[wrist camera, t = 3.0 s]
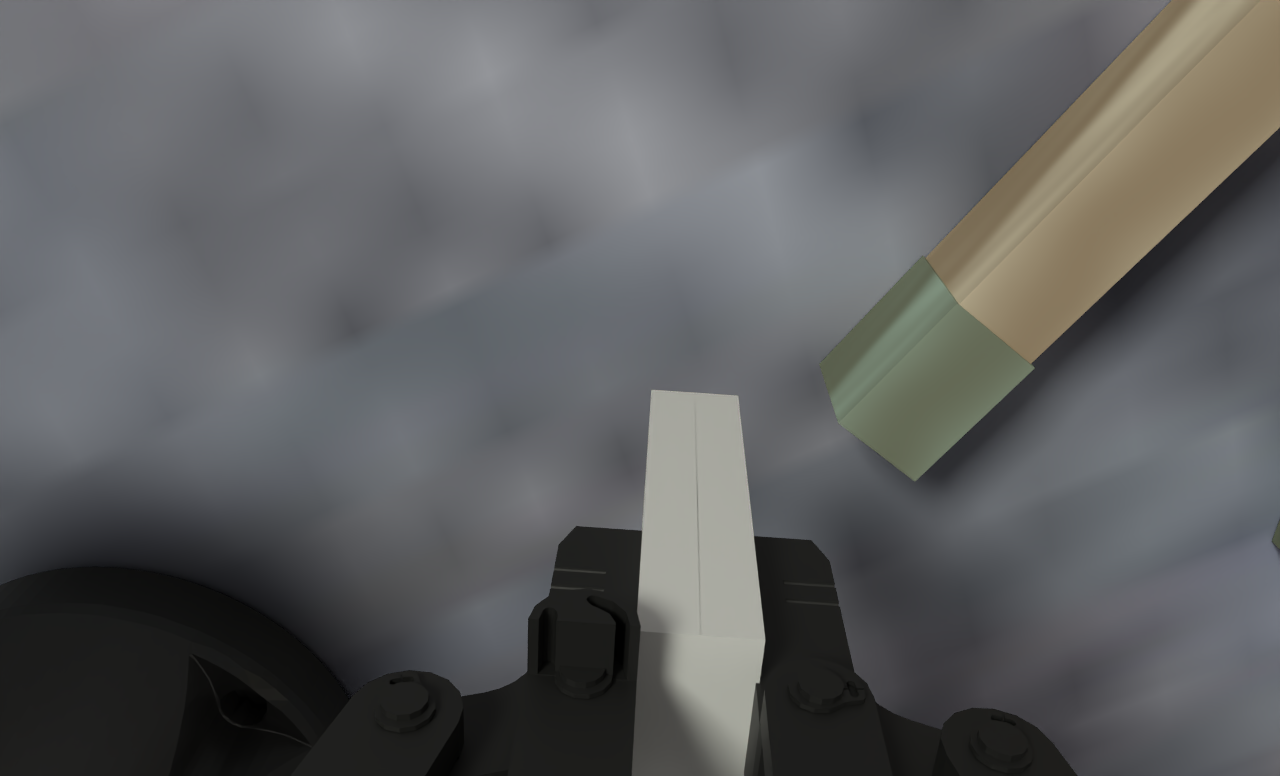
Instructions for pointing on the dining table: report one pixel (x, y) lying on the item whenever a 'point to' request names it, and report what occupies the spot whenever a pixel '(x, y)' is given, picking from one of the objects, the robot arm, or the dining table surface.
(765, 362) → the dining table surface
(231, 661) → the robot arm
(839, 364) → the tongs jaw
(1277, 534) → the bar
